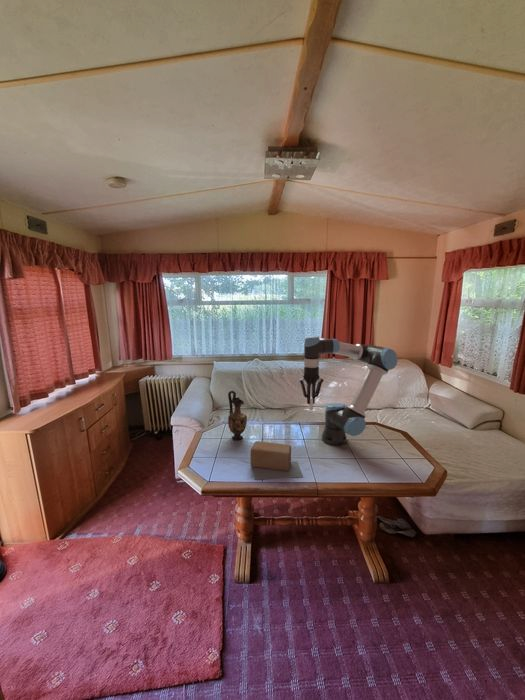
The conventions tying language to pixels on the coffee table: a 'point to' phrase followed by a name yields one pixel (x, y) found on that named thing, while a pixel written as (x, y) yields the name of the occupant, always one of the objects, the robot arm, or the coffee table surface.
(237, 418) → the vase
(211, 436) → the coffee table surface
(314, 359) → the robot arm
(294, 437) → the coffee table surface
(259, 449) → the block
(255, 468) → the mat
